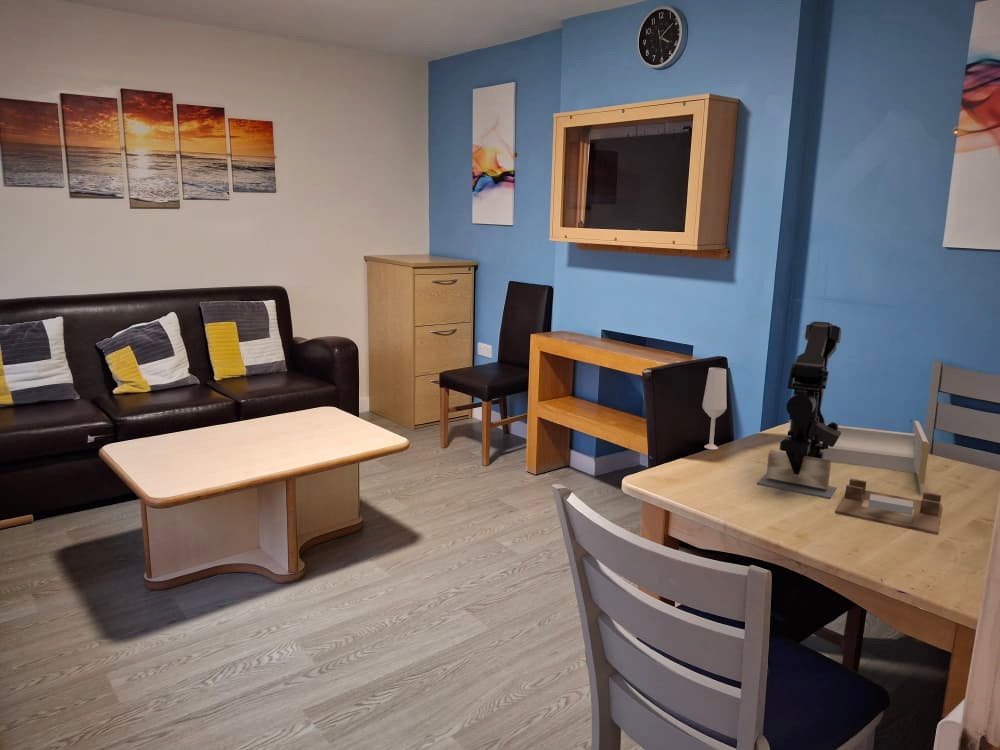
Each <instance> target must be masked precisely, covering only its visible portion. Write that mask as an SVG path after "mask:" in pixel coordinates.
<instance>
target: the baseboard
mask: <svg viewBox="0 0 1000 750" xmlns="http://www.w3.org/2000/svg"><path fill="white" fill-rule="evenodd" d="M910 422H913V432H912V434H915V439H914V441H915V442H914V461H913V463H914V466H915V470H916V473H915V474H916V476H917V479H918V482H919V484H921V485H924V484H925V480H926V473H927V466H928V465H927V464H928V457H929V449H930V443H929V441H928V438H927V435H926V433H925V432H924V429H923V427H922V425H921V422H920V421H918V420H914V421H912V419H911V420H910ZM911 427H912V426H911V424H910V428H911Z"/></svg>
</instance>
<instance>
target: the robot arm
mask: <svg viewBox="0 0 1000 750" xmlns="http://www.w3.org/2000/svg"><path fill="white" fill-rule="evenodd" d="M804 339H805V341H807V342H806V345H805V349H804V352H803V353H800V354H799V355H798V356H797V357H796V359H795V363H792V365H791V367H790V373H789V379H788V383H787V389H788V390H793V395H792V396H791V397H790V398H789V400H787V403H786V411H787V413H788V415H789V418H788V419H789V421H790V426H789V430H788V431H787V436H786V437H785V438H783V439H782V440H781V441H780V442H779V450H780V452H785V453H786V454H787V456H788V459H789V461H790V464H791V467H792V469H793V472H794V474H797V475H798V474H799V472H800V469H801V466H802V463H803V459H804V456H808V457H814V458H820V459H823V452H821V450H824V449H828V446H830V447H833V446H834V445H835V444H836V442H837V440H838V438H839V437H840V435H841V431H838V426H839V424H838V423H837V422H834V421H832V422H831V421H830V423H826V421H825V418H824V415H823V414H822V405H823V400H824V399H823V398H824V393H825V390H826V389H827V388H826V387H827V385H828V384H827V383H828V379H829V371H828V364H829V360H830V358H831V356H833V354H834V353H836V351H837V347H838V344H840V343H841V339H842V329H841V327H840V326H837V325H835V324H833V323H830V322H828V321H811V322H810V323H809V324H806V325H805V334H804ZM826 424H828V425H826ZM820 442H823V443H820Z"/></svg>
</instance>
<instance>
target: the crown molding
mask: <svg viewBox="0 0 1000 750" xmlns="http://www.w3.org/2000/svg"><path fill="white" fill-rule="evenodd" d="M825 424H826V425H828V424H829V423H825ZM838 431H841V435H840V437H839V438H838V440H837V442H836V444H835V445H834V446H833V447H830V446H828V449H824V450H821V452H823V459H826V460H831V463H837V464H838V463H839V464H846V465H854V466H861V467H867V468H876V469H885V470H891V471H894V472H902V471H903V473H909V472H911V473H910V474H917V473H916V470H915V466H914V463H913V461H914V442H915V441H914V439H915V434H913V432H912V433H911V432H901V431H893V430H892V431H890V430H882V429H874V428H864V427H854V426H845V425H838ZM820 443H823V442H820Z"/></svg>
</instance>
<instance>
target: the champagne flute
mask: <svg viewBox="0 0 1000 750" xmlns="http://www.w3.org/2000/svg"><path fill="white" fill-rule="evenodd" d="M701 406H702V409H703V411H704V412H705V413H706V414H707V415H708V417H710V418H711V419H710V428H709V429H710V431H709V440H708V441H709V443H707V444H705V445H704V446H703V447H704V448H705V449H708V450H717V449H719V447H718V446H717V445H716V444H714V443H715V442H714V439H715V429H716V428H715V427H716V419H717V418H719V417H720V416H721V415H723V414H724V413H725V412H726V410H727V369H726V368H722V367H709V368H708V373H707V378H706V384H705V389H704V395H703V399H702V405H701Z"/></svg>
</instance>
